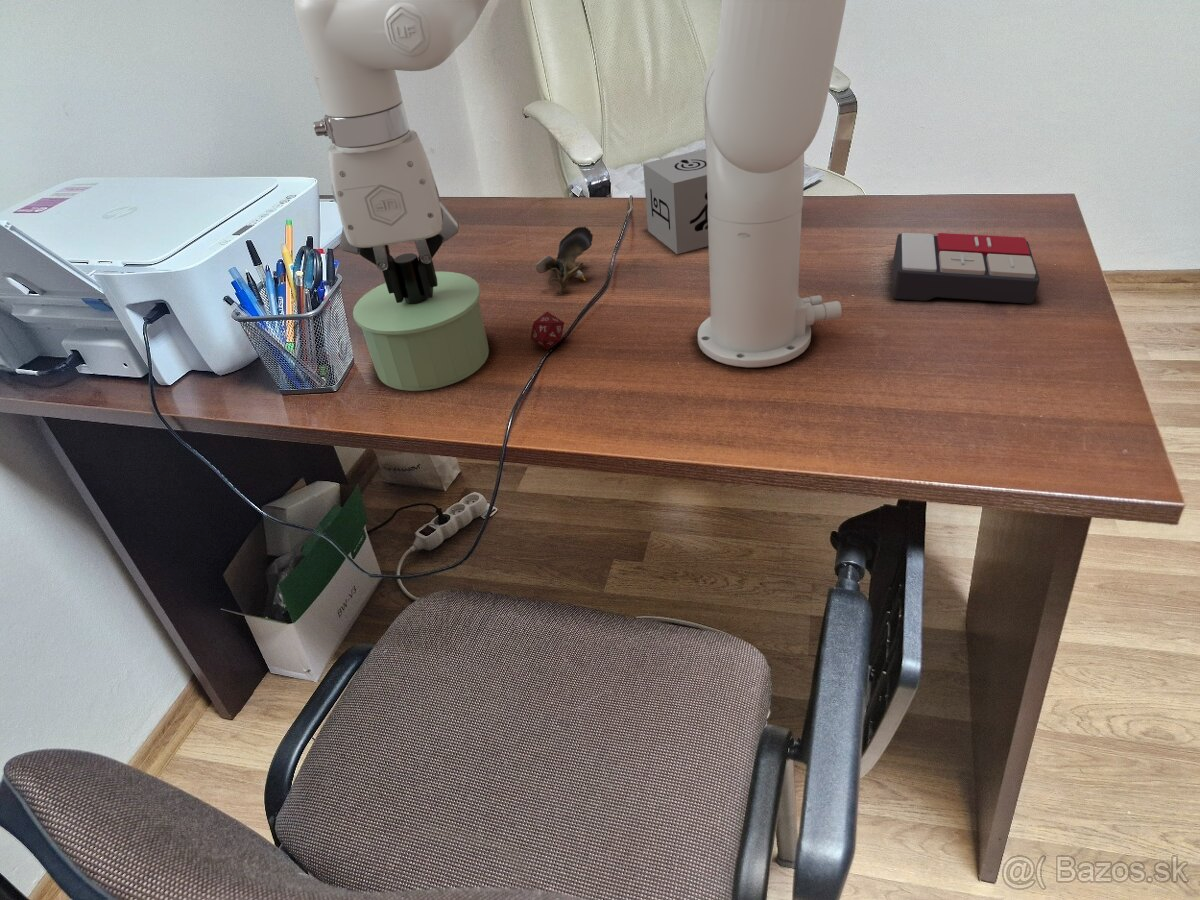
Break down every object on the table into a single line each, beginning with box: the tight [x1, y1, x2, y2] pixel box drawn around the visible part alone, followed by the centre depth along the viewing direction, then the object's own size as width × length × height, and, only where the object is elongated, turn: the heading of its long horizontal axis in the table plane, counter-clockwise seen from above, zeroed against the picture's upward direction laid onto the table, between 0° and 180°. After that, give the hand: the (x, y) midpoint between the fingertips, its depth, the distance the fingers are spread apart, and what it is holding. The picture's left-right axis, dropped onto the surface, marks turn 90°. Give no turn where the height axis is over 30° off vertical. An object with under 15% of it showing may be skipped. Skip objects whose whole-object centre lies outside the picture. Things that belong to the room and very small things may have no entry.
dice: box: [530, 311, 565, 351], centre depth 94 cm, size 4×4×4 cm
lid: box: [352, 252, 481, 335], centre depth 89 cm, size 14×14×6 cm
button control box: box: [892, 232, 1041, 305], centre depth 95 cm, size 11×4×15 cm
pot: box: [361, 300, 490, 392], centre depth 93 cm, size 13×13×8 cm
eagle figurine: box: [535, 226, 594, 295], centre depth 107 cm, size 8×7×9 cm
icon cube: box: [642, 148, 709, 255], centre depth 113 cm, size 10×10×10 cm
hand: (415, 293), depth 90 cm, fingers closed on lid, 2 cm apart
